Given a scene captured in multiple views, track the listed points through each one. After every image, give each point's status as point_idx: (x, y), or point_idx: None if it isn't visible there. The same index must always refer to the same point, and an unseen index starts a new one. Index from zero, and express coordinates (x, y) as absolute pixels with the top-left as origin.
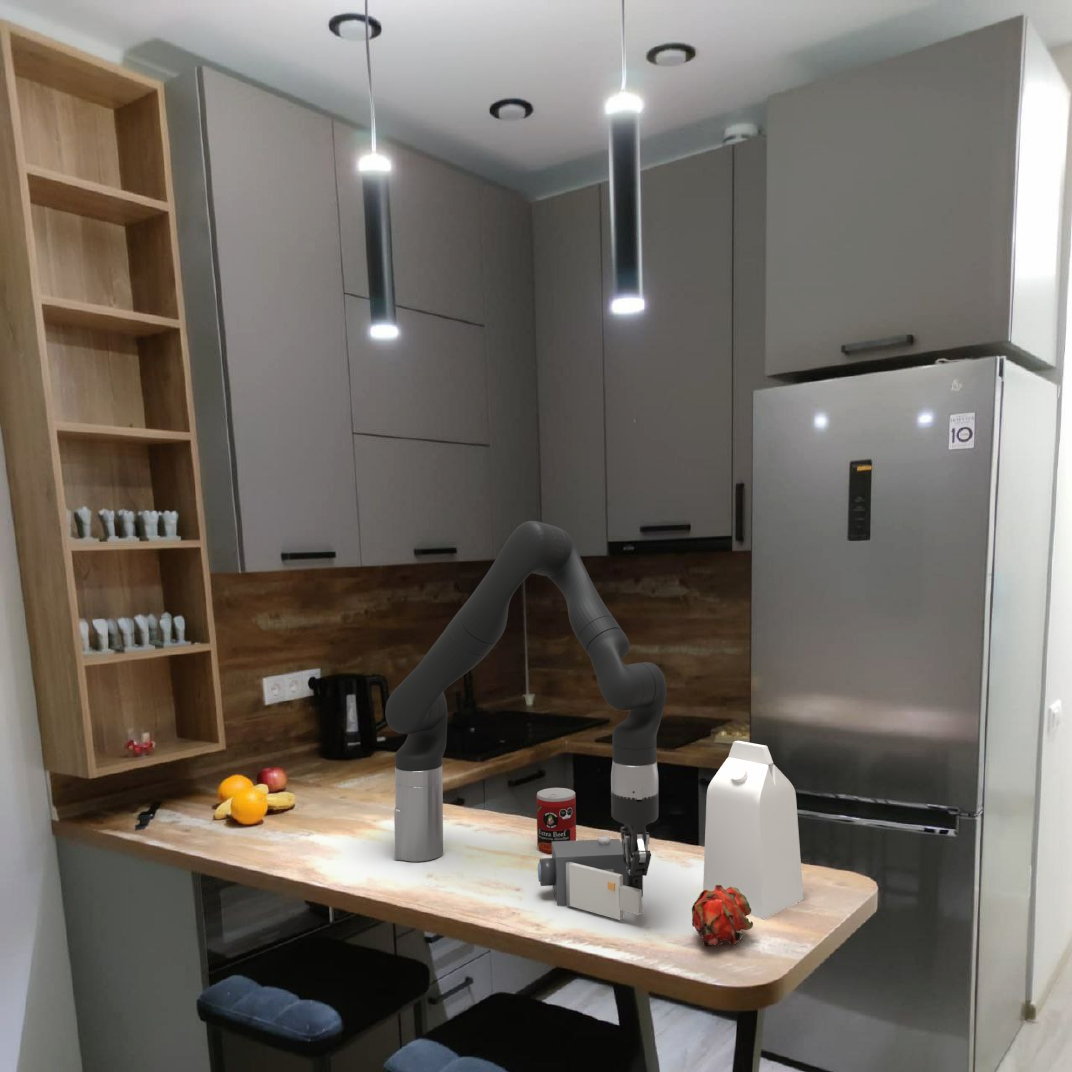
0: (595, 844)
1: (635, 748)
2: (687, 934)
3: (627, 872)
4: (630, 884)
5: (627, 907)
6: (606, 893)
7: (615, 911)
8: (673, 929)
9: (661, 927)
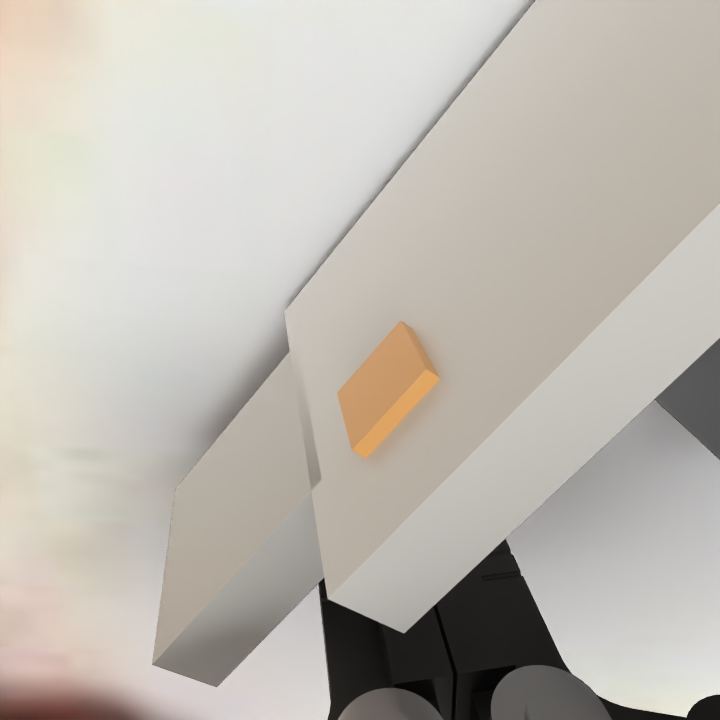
0: None
1: None
2: (117, 663)
3: (509, 665)
4: None
5: (244, 432)
6: (418, 281)
7: (319, 302)
8: None
9: None
